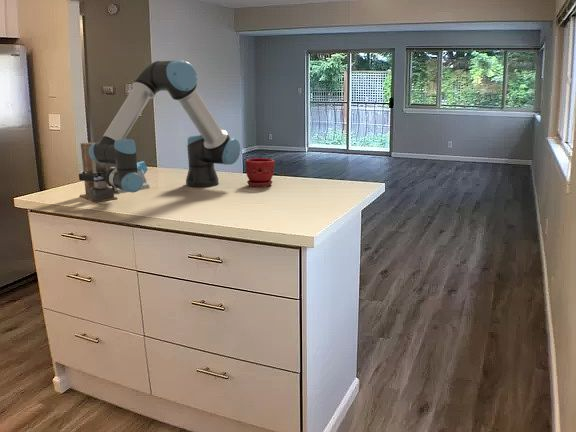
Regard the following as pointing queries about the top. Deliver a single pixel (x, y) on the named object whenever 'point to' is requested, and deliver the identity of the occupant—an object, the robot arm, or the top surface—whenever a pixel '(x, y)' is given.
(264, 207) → the top surface
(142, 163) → the teapot
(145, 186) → the hinge
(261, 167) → the plant pot
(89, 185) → the dark brown bookend
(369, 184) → the top surface
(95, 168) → the grey rectangular block
